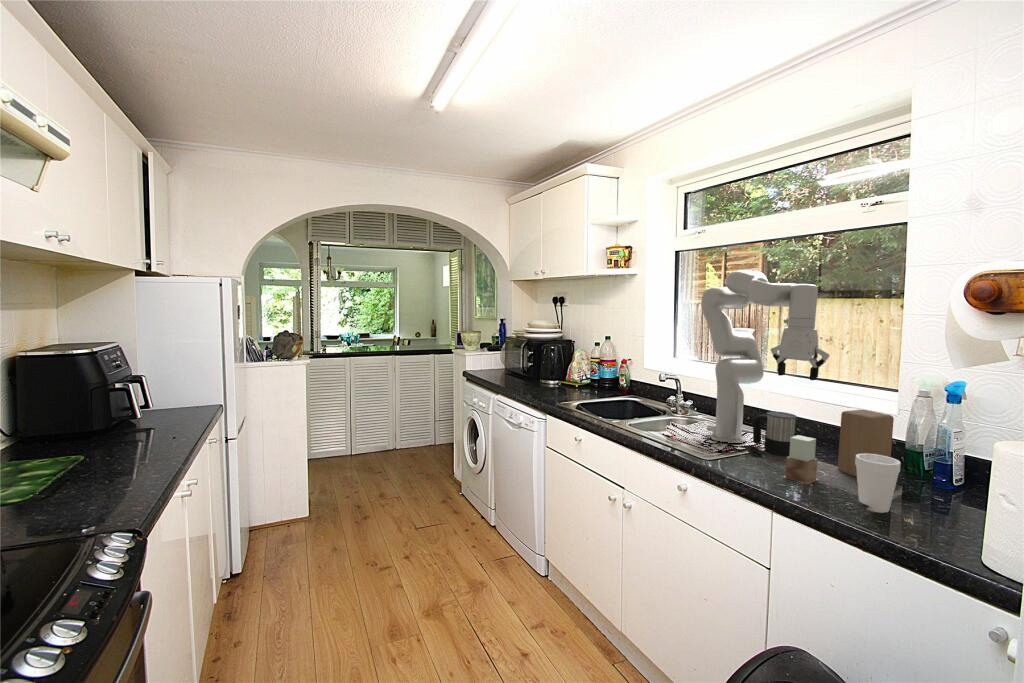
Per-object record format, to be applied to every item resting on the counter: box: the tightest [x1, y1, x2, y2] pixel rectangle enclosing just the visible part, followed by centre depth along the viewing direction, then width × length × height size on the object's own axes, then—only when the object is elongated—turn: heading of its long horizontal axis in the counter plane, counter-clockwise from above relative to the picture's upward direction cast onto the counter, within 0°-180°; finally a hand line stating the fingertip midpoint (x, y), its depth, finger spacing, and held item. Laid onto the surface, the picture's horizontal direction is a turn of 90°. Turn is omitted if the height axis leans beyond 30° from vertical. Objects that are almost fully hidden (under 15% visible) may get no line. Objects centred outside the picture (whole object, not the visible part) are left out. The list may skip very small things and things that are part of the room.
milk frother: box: [745, 410, 797, 459], centre depth 176 cm, size 14×16×15 cm
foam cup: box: [855, 454, 902, 514], centre depth 133 cm, size 10×9×13 cm
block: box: [837, 409, 895, 477], centre depth 156 cm, size 10×10×20 cm
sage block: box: [788, 434, 817, 462], centre depth 151 cm, size 5×5×6 cm
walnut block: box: [785, 456, 818, 484], centre depth 151 cm, size 6×6×6 cm
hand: (796, 377), depth 162 cm, fingers open, 9 cm apart
